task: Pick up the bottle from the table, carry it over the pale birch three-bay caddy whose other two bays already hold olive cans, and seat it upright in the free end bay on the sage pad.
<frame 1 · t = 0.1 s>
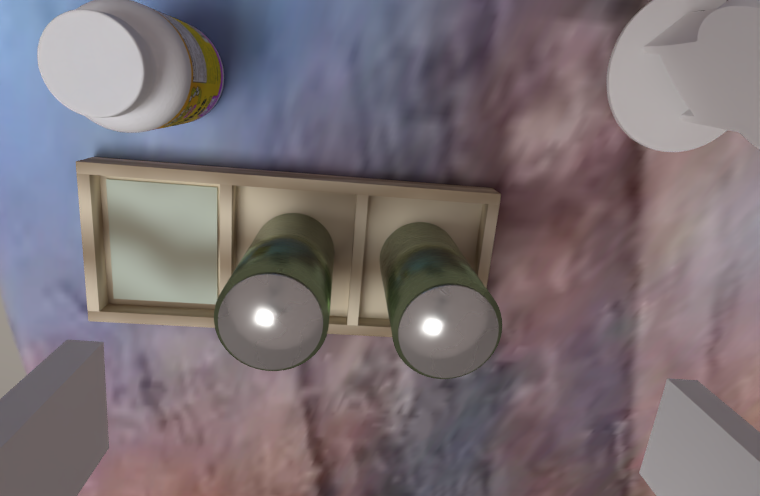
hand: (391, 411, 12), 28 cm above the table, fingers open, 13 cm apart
can b: (418, 260, 40), point 1 cm above the table, touching caddy
supplement bottle: (178, 73, 36), on the table
can a: (294, 252, 39), point 1 cm above the table, touching caddy
caddy: (295, 248, 40), on the table
panda figurine: (683, 76, 38), on the table
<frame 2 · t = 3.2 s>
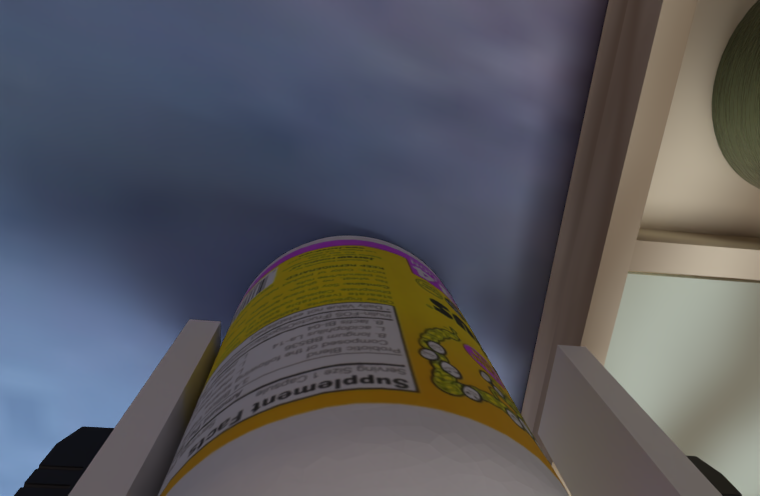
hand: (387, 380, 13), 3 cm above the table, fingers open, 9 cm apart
supplement bottle: (347, 329, 16), on the table, touching gripper
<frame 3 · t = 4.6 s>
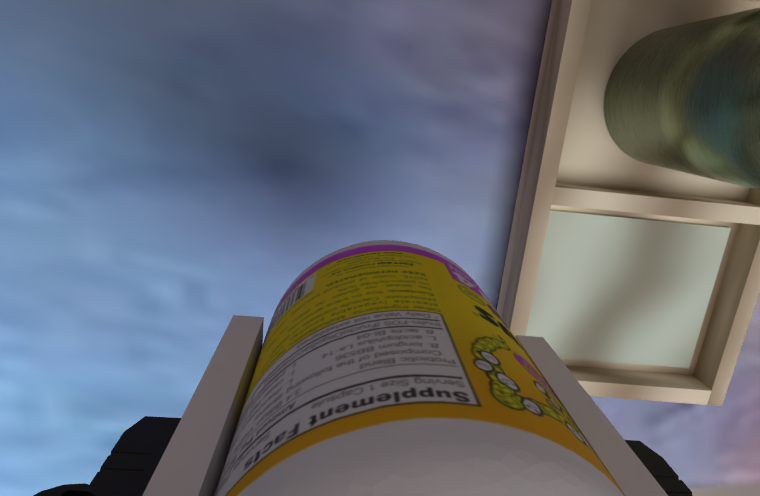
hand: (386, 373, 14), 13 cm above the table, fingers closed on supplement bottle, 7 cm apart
supplement bottle: (381, 335, 16), point 11 cm above the table, touching gripper
can a: (669, 98, 23), point 1 cm above the table, touching caddy
caddy: (657, 98, 24), on the table
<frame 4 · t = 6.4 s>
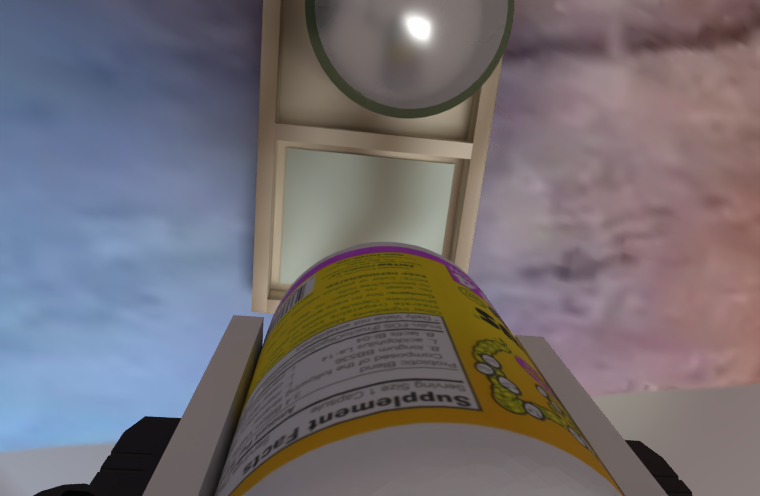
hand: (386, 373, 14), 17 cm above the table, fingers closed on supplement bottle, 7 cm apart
supplement bottle: (381, 336, 16), point 15 cm above the table, touching gripper
can a: (382, 44, 26), point 1 cm above the table, touching caddy
caddy: (381, 46, 27), on the table
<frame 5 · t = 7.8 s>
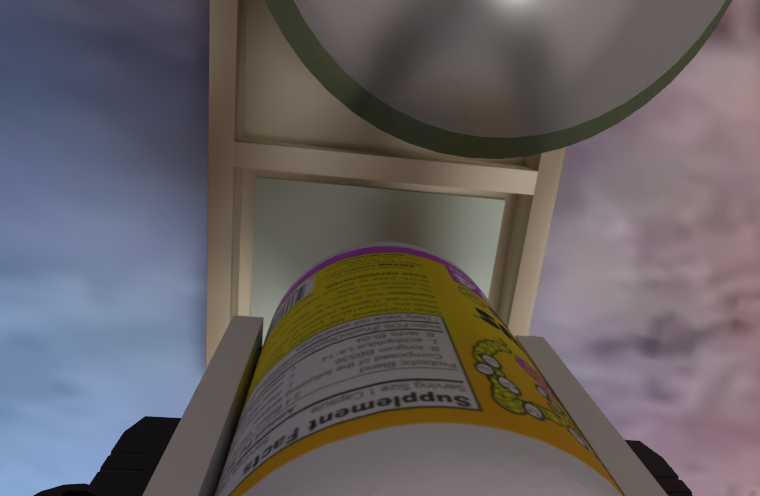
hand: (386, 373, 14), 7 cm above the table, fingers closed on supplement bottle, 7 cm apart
supplement bottle: (381, 337, 16), point 5 cm above the table, touching gripper
can a: (400, 20, 17), point 1 cm above the table, touching caddy
caddy: (397, 24, 18), on the table
when the fingers open (4 cm above the table, at t = 9.2 s): supplement bottle drops 1 cm, resting on caddy.
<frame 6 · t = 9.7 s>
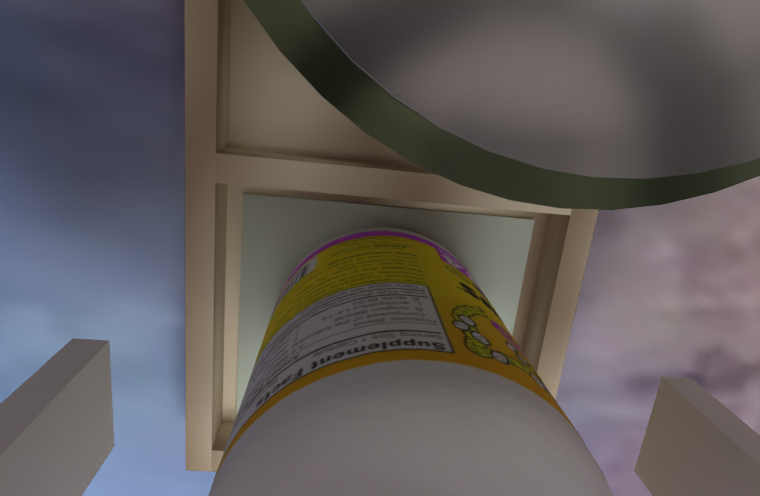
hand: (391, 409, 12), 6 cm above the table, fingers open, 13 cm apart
supplement bottle: (378, 316, 17), point 1 cm above the table, touching caddy
can a: (414, 9, 14), point 1 cm above the table, touching caddy
caddy: (410, 14, 15), on the table
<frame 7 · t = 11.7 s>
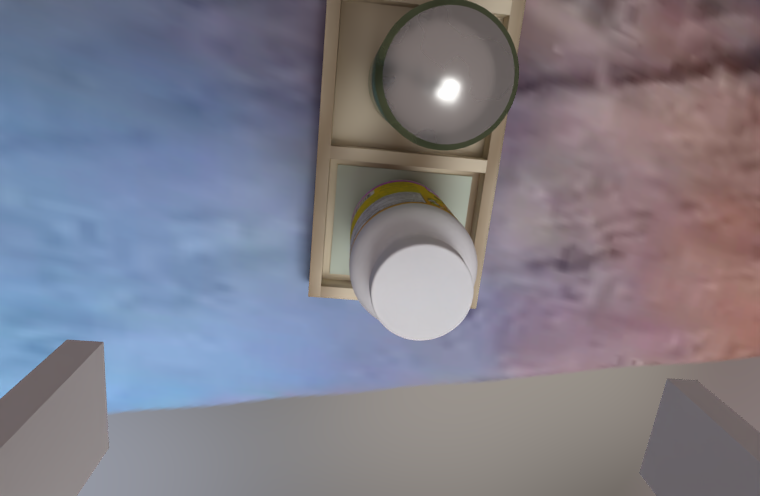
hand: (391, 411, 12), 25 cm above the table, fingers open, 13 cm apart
supplement bottle: (398, 224, 36), point 1 cm above the table, touching caddy
can a: (415, 82, 33), point 1 cm above the table, touching caddy
caddy: (413, 82, 34), on the table
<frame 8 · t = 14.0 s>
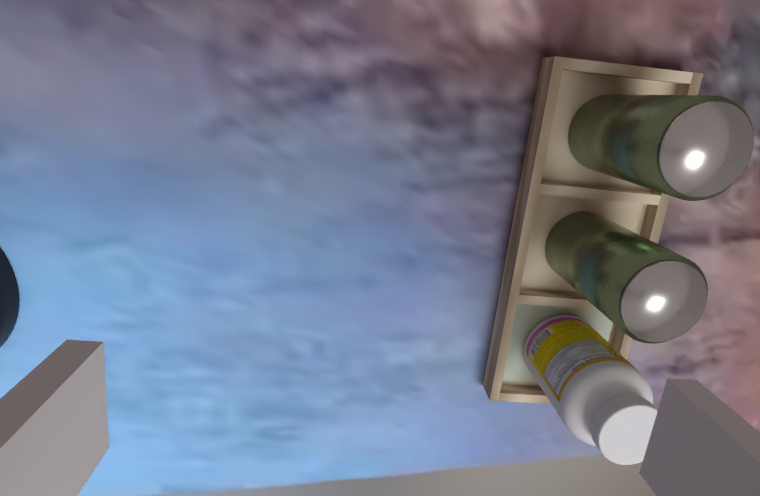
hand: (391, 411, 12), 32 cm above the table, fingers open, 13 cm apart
can b: (604, 133, 41), point 1 cm above the table, touching caddy
supplement bottle: (557, 344, 47), point 1 cm above the table, touching caddy
can a: (579, 245, 44), point 1 cm above the table, touching caddy
caddy: (574, 242, 45), on the table
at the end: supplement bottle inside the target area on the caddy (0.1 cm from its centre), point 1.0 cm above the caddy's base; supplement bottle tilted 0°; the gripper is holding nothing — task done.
